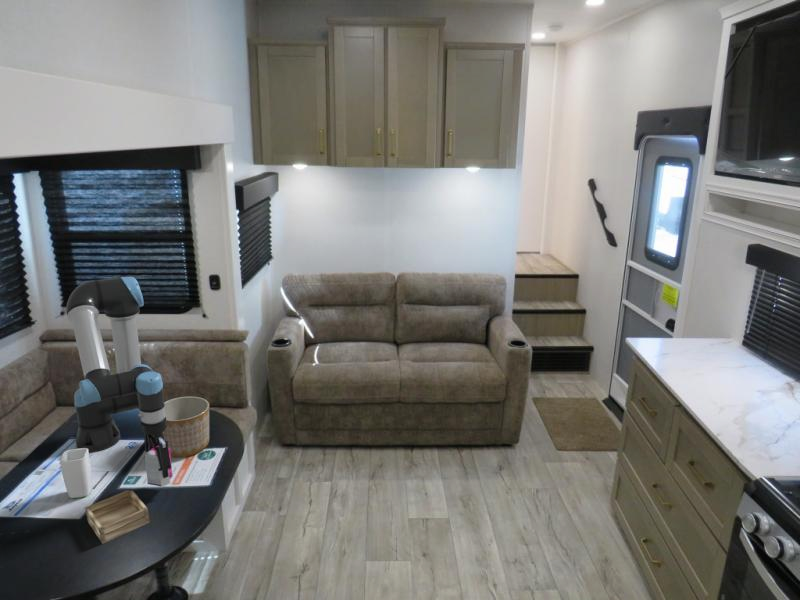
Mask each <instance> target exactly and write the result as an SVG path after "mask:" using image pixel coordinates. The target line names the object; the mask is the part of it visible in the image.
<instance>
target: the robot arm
mask: <svg viewBox="0 0 800 600" xmlns="http://www.w3.org/2000/svg"><path fill="white" fill-rule="evenodd" d="M144 303H145V302H144V297H143V293H142V291H141V287H140V284H139V282H138V280H137V279H136V278H135V277H134V276H119V277H112V278H111V277H110V278H104V279H98V280H97V279H96V280H95V279H94V280H88V281H85V282H82V283H81V284H79V285H78V286H77V287H75V289H73V291H72V292H71V294H70V295H69V297H68V300H67V302H66V307H65V308H66V309H65V310H66V317H67V320H68V321H69V322H70V323H72V328H73V333H74V337H75V341H76V346H77V350H78V354H79V359H80V363H81V364H80V365H81V369H82V373H83V378H84V380H80V381H79V383H78V385H79V388H78V389H76V391H74V395H73V399H74V407H75V411H76V418H77V425H78V429H77V434H76V439H75V446H76V449H80V448H87V449H88V452H89V453H91V452H92V453H93V452H94V453H95V452H99V451H104V450H107V449H109V448H111V447H112V446H114V445H116V444H117V443H118V442H119V441H120V439H121V432H120V430H119V427H118V425H116V422H115V420H114V419H113V418H114V417H113V415H117V414H120V413H121V414H122V413H125V412H130V411H133V410H139V413H138V417H140V426H141V432H142V433H143V434H144V435H143V436H144V452H145V454H146V453H147V452H149V451H150V450H151V449H152V448H153V449H154V450H156V454H157V457H158V461H159V465H160V469H158V471H159V473H160V481H161V486H160V487H164V486H167V485H169V484H171V481H170V480H171V478H169V469H170V468H171V467H172V461H171V462H170V456H169V450H168V442H167V441H164V435H163V434H162V433H163V431H164V430H165V429H166V428H167V422H166V410H165V404H164V402H165V398H164V382H163V379H162V375H161V373H159V372H156V371H154V370H153V369H152V368H151V367H150V366H149V365H147V364H143V363H142V359H141V351H140V342H139V333H138V325H137V316H138V314H139V313H140V308H141V307H143V306H144ZM103 312H104V315H105V317H106V318H108V319H110V326H111V335H112V342H113V350H114V356H115V365H116V366H115V367H116V373H114V374H113V373H111V369H110V365H109V361H108V357H107V353H106V349H105V346H104V340H103V338H102V332H101V329H100V325H99V322H98V317H99V315H100V313H103ZM156 446H158V447H156Z"/></svg>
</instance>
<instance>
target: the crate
mask: <svg viewBox="0 0 800 600" xmlns="http://www.w3.org/2000/svg"><path fill="white" fill-rule="evenodd" d="M84 509H85V515H86V519H87V520H86V521H87V522H88V525H89V526H90V527H91V529H92V530H93V531H94V533H95V535H96V537H97V538H98V539H99V541H100V543H101V544H102V545H104V544H105V543H108V542H110V541H113V540H115V539H117V538H119V537H122V536H123V535H125V534H127V533H130V532H132V531H134V530H136V529H138V528H141V527H143V526H145V525H147V524H149V523H150V516H149V515H150V514H149V508H148V507H147V506H146V504H145V503H144V502H143V501H142V500H141V499H140V497H139V496H138V495H137V494H136V493H135V492H134V491H133V489H132V488H130V489H127V490H124V491H122V492H120V493H117V494H115V495H112V496H110V497H108V498H105V499H103V500H100V501H98V502H96V503H93V504H90V505H88V506H86V507H84Z"/></svg>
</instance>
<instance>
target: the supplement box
mask: <svg viewBox="0 0 800 600" xmlns="http://www.w3.org/2000/svg"><path fill="white" fill-rule="evenodd" d="M156 447H158V446H156ZM168 450H169V456H170V462H171V463H172V456H171V454H170V448H168ZM144 459H145V467H146V468H145V470H146V481H147V485H152V486H157V487H162V486H161V481H160V473H159V471H158V469H160V465H159V461H158V457H157V454H156V450H154V449H153V448H152V449H151V450H150V451H149V452H147V453H146V452H145V454H144ZM169 478H170V479H172V478H173V468H172V466H171V468H170V469H169Z"/></svg>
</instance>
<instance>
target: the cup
mask: <svg viewBox="0 0 800 600" xmlns="http://www.w3.org/2000/svg"><path fill="white" fill-rule="evenodd" d="M61 455H62V456H61V457H60V459H59V464H60V469H61V475H62V478H63V483H64V486H65V488H66V491H67V495H68V497H69V498H70V499H79V498H84V497H87V496H89V494H90V492H91V491H92V467H91V460H90V459H91V458H90V452H88V449H87V448H80V449H77V448H74V449H67V450H66V451H64V452H63V453H62V454H61Z"/></svg>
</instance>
